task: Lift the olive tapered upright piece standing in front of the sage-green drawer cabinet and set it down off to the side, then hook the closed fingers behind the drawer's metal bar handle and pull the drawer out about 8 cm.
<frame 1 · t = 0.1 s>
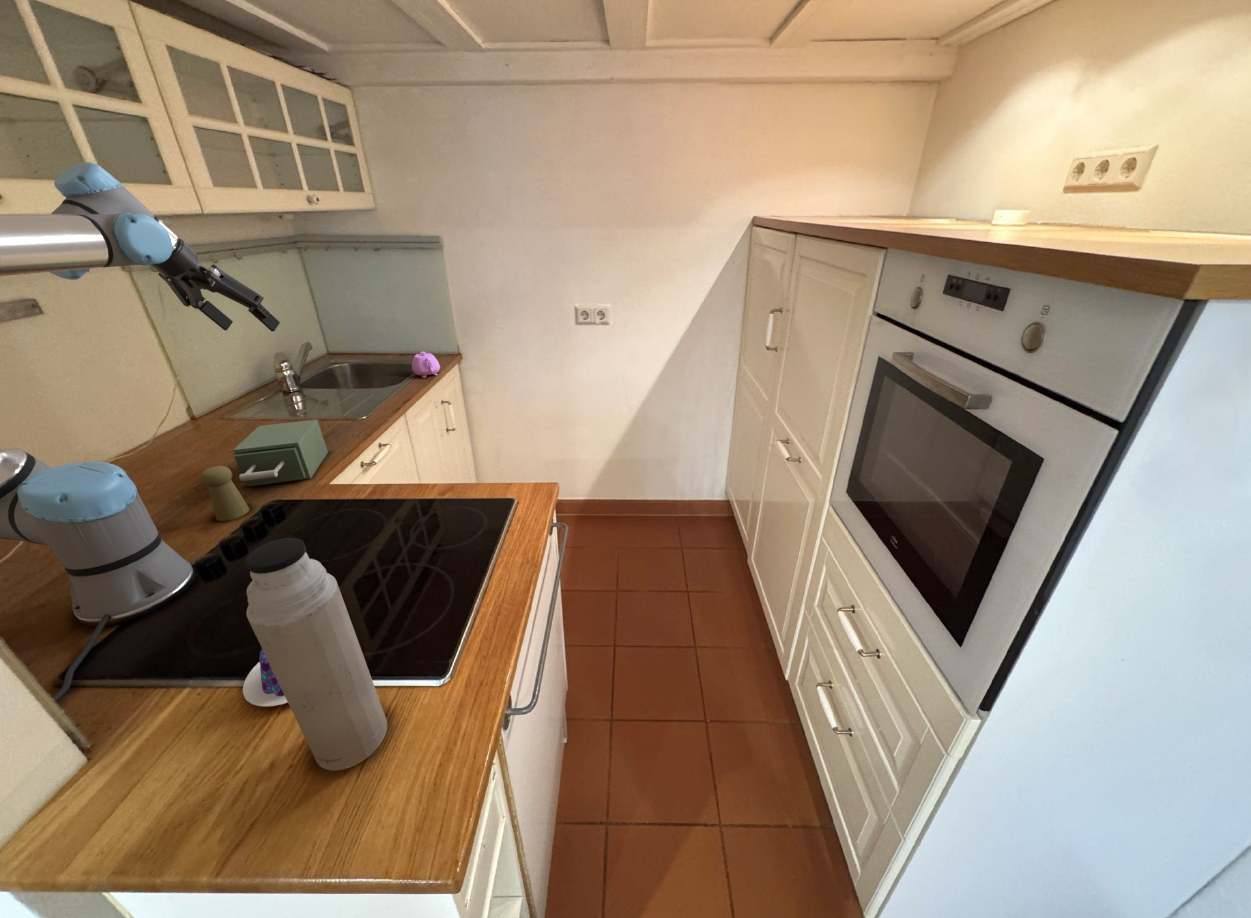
hand: (252, 326, 115), 36 cm above the worktop, tool tilted 35°, fingers open, 13 cm apart
olive tapered upright piece: (233, 514, 109), on the worktop
cabinet: (290, 468, 129), on the worktop
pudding: (296, 673, 70), on the worktop
thermos bottle: (352, 739, 61), on the worktop
drawer: (276, 460, 122), point 5 cm above the worktop, slide at 0.5 cm
pink rounded figure: (426, 374, 205), on the worktop
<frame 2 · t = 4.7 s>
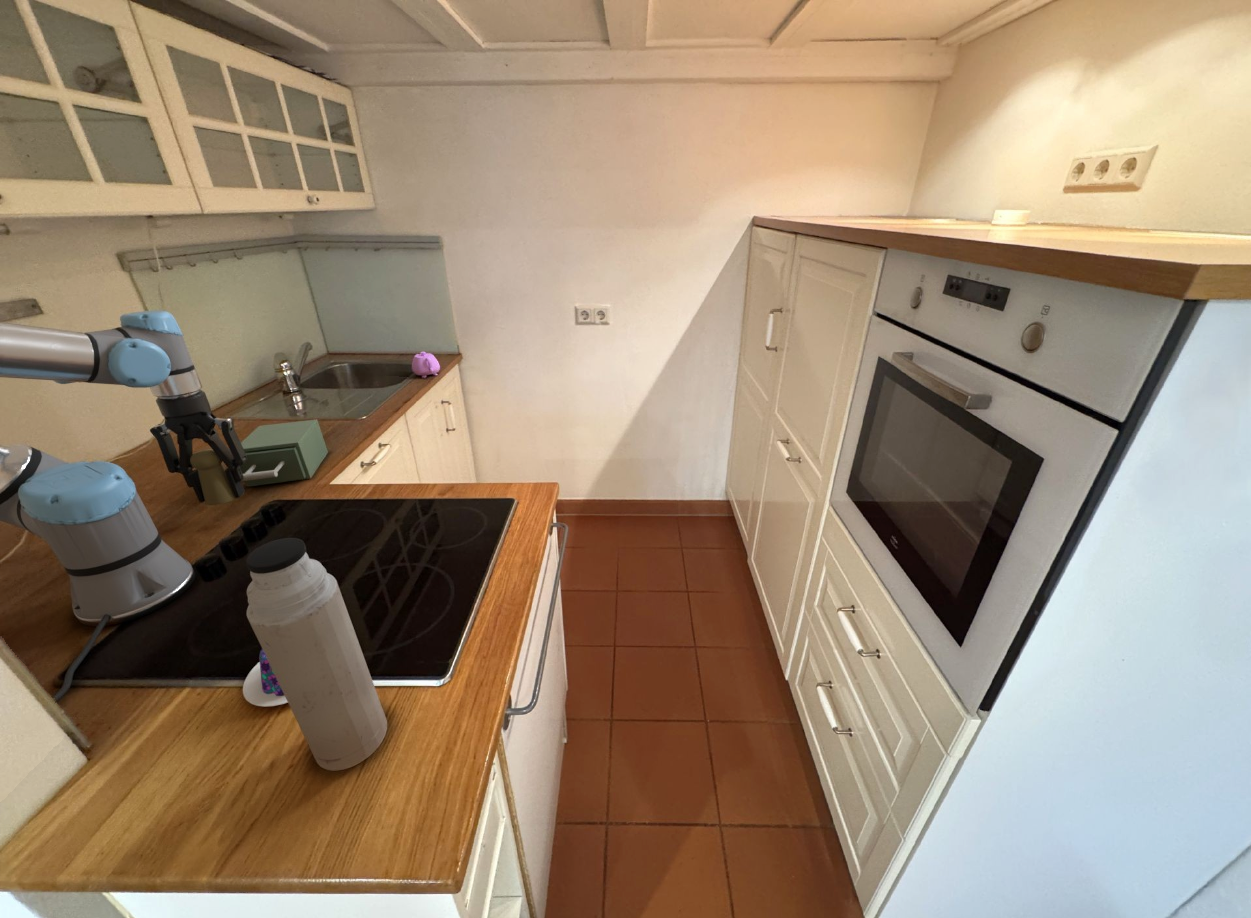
hand: (222, 496, 107), 4 cm above the worktop, tool pointing down, fingers closed on olive tapered upright piece, 6 cm apart
olive tapered upright piece: (223, 499, 107), point 4 cm above the worktop, touching gripper
everything else where it was.
when the fingers open (0 cm above the worktop, at t = 10.8 s): olive tapered upright piece stays where it is, on the worktop.
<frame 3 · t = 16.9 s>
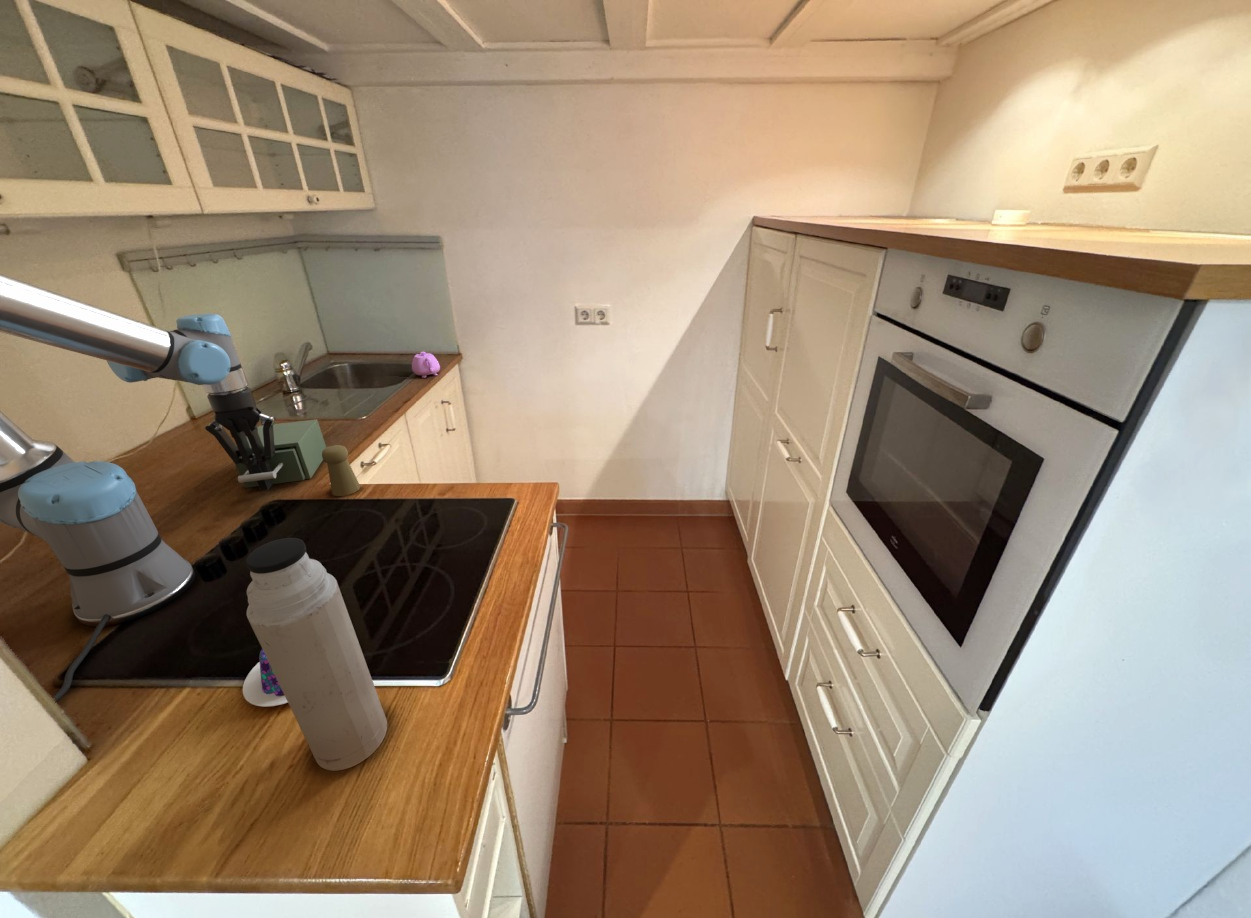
hand: (266, 487, 116), 2 cm above the worktop, tool pointing down, fingers closed
olive tapered upright piece: (346, 490, 118), on the worktop
drawer: (274, 462, 121), point 5 cm above the worktop, slide at 1.3 cm, touching gripper
everything else where it was.
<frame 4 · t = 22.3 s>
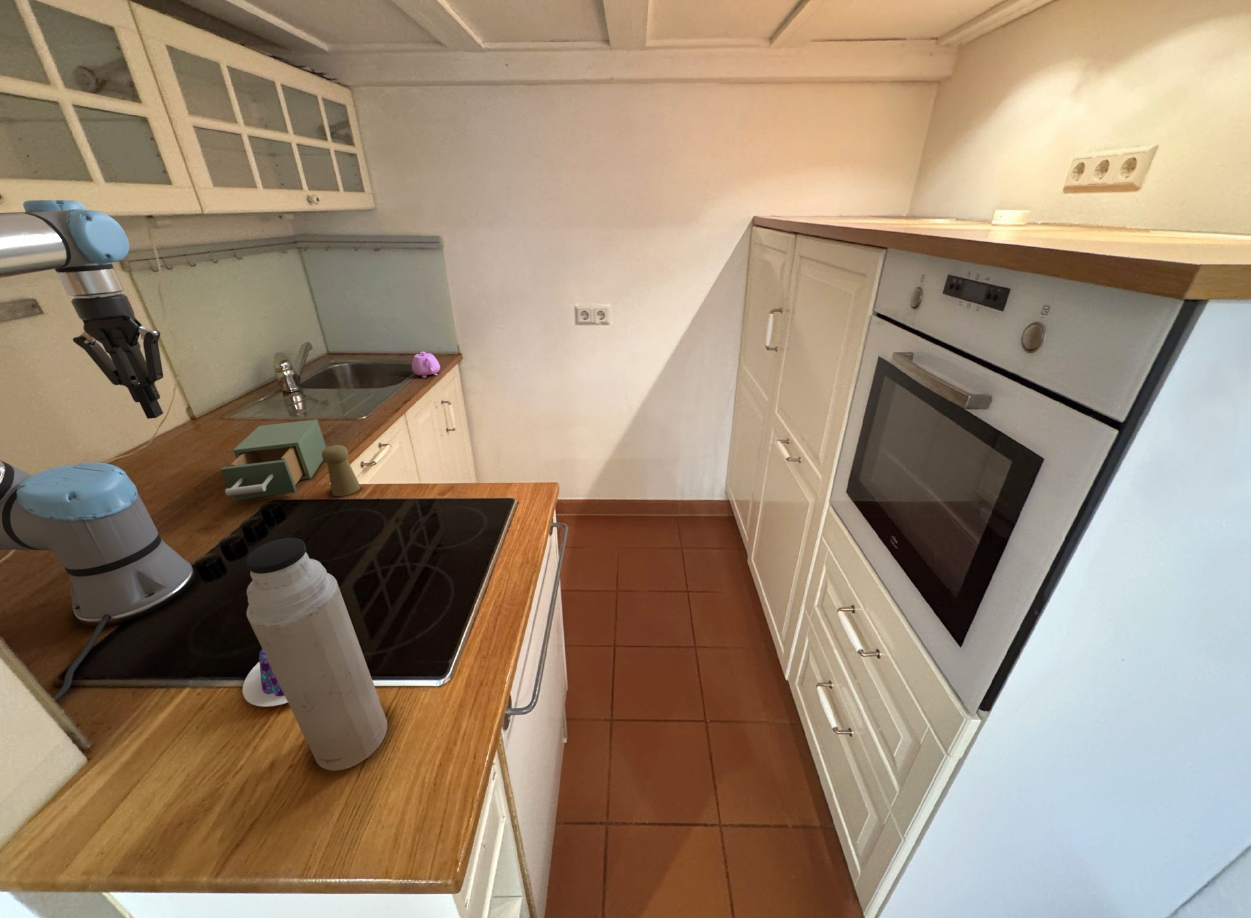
hand: (155, 416, 101), 22 cm above the worktop, tool pointing down, fingers closed
drawer: (265, 473, 116), point 5 cm above the worktop, slide at 7.5 cm
everything else where it was.
at the end: drawer slide at 7.5 cm; olive tapered upright piece inside the target area (0.0 cm from its centre), on the worktop; olive tapered upright piece tilted 0° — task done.
